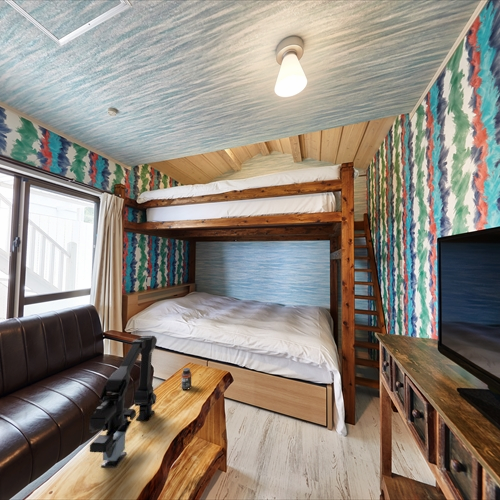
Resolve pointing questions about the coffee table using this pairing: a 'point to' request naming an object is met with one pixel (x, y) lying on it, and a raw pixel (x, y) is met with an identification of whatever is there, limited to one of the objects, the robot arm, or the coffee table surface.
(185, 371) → the supplement bottle
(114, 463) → the post
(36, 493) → the coffee table surface
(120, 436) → the grey block on base
